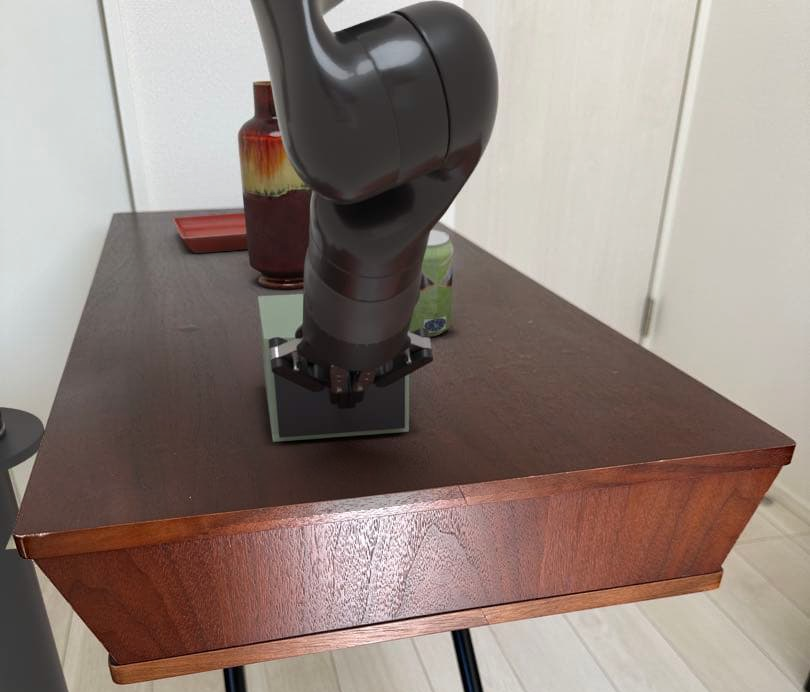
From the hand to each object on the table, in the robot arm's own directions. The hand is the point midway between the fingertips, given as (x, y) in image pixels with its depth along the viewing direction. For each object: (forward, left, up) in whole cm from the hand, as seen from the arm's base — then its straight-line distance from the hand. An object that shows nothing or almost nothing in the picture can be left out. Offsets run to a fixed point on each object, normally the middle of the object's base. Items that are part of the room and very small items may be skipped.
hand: (344, 398), depth 72 cm
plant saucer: (-9, +89, -5) cm, 89 cm away
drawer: (0, +7, -4) cm, 8 cm away
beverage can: (+14, +32, -5) cm, 35 cm away
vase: (-1, +60, -5) cm, 60 cm away
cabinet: (0, +10, -5) cm, 11 cm away
